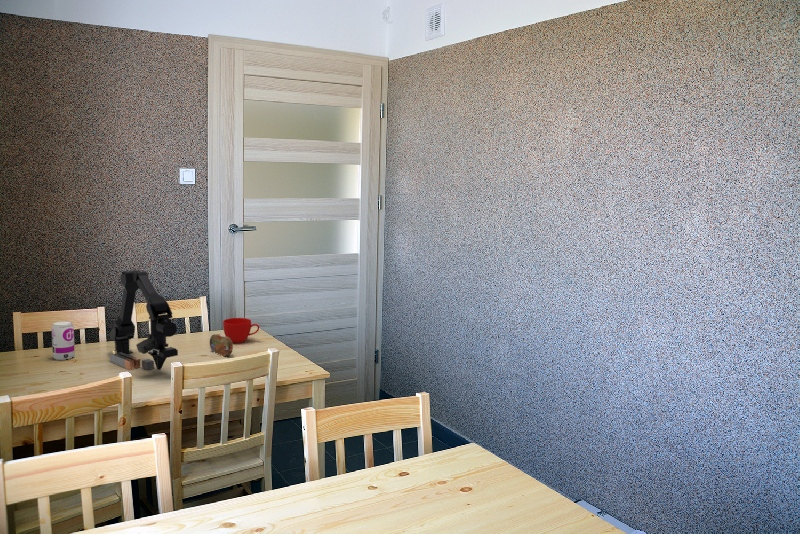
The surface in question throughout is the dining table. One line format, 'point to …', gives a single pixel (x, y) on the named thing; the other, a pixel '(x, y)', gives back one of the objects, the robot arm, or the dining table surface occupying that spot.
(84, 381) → the dining table surface
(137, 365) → the tongs jaw
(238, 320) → the ceramic cup
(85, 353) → the dining table surface
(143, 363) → the grey block
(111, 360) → the tongs fixed arm
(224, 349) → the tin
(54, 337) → the supplement can
